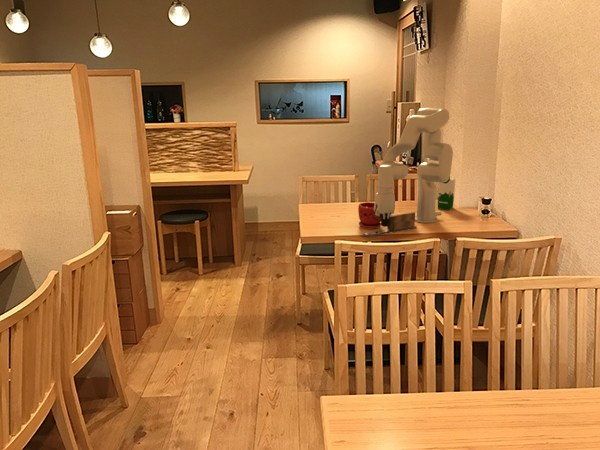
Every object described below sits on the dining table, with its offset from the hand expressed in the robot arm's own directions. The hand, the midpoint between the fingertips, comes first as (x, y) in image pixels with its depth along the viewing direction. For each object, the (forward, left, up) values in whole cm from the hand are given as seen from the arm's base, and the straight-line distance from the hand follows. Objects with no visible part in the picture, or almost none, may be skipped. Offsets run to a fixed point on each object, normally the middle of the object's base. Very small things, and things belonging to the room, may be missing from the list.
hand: (384, 226), depth 249 cm
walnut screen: (-11, 0, -2) cm, 11 cm away
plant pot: (-1, -13, -4) cm, 13 cm away
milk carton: (-62, -23, -4) cm, 66 cm away
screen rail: (-4, 0, -4) cm, 5 cm away
